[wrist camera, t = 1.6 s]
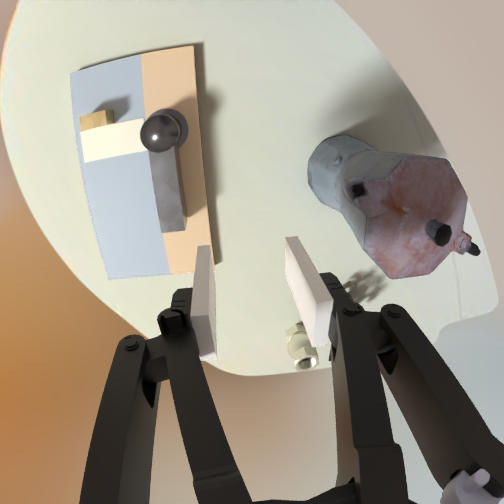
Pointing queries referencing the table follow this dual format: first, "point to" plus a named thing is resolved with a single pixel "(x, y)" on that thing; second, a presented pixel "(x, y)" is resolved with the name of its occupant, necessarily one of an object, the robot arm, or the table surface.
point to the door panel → (140, 161)
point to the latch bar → (166, 170)
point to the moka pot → (393, 204)
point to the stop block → (97, 119)
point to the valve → (302, 347)
